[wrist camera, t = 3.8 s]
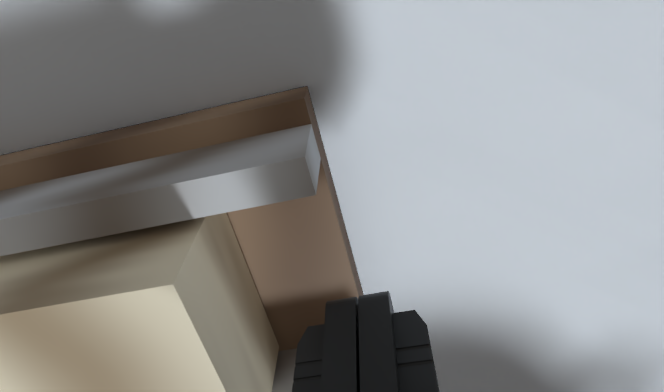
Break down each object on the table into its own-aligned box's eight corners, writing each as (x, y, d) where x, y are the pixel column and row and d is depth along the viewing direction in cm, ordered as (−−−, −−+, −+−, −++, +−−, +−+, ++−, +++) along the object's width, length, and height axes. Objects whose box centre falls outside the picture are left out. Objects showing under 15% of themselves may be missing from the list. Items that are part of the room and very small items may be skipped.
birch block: (217, 191, 14) (172, 284, 10) (279, 346, 17) (259, 460, 13) (24, 229, 15) (-76, 327, 11) (114, 371, 18) (55, 484, 14)
